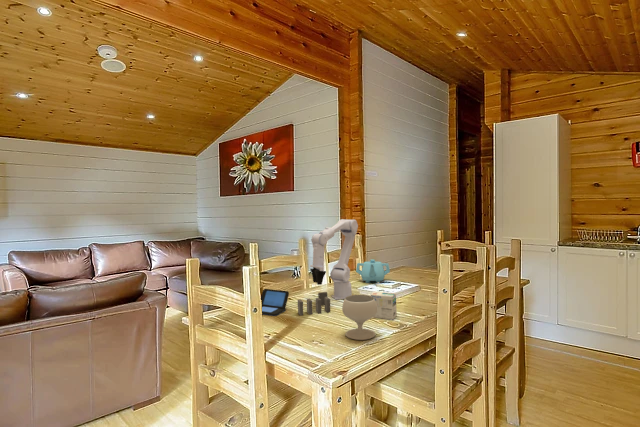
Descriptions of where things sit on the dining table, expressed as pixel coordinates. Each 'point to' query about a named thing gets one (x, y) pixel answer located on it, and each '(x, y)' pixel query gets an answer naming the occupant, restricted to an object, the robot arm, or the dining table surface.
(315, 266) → the robot arm
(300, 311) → the domino
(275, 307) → the handheld game console
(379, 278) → the teapot
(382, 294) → the light bulb box
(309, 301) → the domino
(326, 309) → the domino
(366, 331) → the chalice
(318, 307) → the domino
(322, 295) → the domino
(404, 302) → the dining table surface
